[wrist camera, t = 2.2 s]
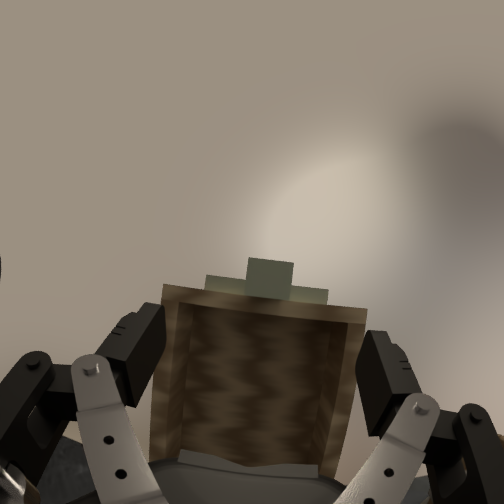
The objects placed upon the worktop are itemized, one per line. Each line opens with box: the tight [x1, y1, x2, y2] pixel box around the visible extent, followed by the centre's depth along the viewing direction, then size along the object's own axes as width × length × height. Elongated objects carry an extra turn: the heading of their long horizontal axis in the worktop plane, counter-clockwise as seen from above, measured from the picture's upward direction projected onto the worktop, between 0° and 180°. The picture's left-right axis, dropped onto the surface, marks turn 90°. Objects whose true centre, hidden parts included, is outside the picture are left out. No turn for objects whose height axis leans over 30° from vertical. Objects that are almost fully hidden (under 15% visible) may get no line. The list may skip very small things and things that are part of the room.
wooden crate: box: [149, 284, 367, 479], centre depth 32 cm, size 20×9×32 cm, turn 88°
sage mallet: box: [204, 257, 328, 305], centre depth 29 cm, size 12×17×2 cm
